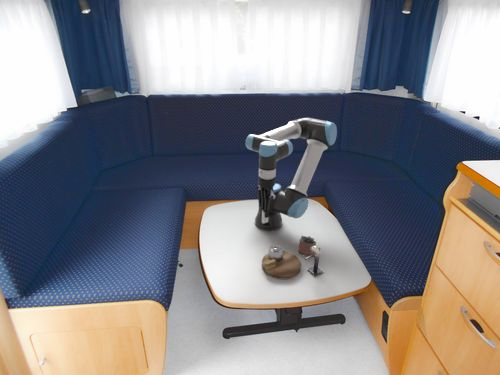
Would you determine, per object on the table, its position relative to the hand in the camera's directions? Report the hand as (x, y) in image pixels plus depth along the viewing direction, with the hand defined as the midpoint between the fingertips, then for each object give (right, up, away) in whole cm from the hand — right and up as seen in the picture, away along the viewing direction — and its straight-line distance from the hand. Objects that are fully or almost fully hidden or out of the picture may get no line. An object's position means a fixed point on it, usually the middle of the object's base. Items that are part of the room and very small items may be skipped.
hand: (264, 222), depth 164 cm
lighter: (+21, -16, +6) cm, 27 cm away
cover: (+5, -16, -1) cm, 17 cm away
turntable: (+7, -20, -3) cm, 22 cm away
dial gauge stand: (+21, -22, -7) cm, 32 cm away
